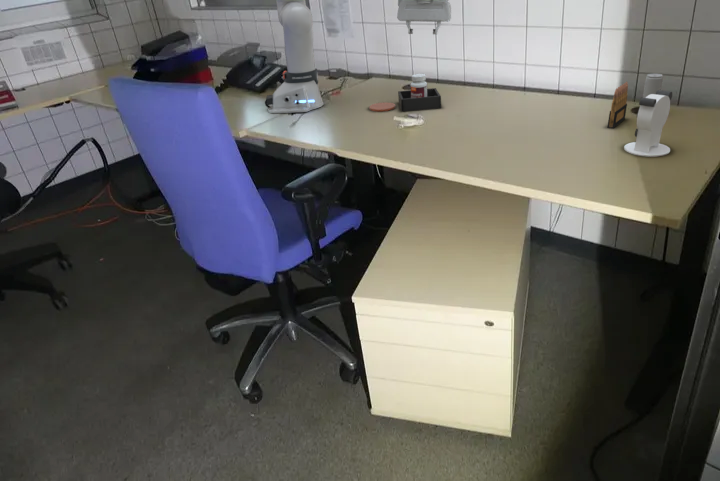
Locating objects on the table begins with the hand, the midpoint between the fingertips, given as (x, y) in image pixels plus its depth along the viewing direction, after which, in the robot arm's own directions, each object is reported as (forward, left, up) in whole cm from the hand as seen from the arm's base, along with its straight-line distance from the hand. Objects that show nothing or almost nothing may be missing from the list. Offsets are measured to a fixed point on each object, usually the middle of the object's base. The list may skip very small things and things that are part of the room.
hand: (422, 34), depth 208 cm
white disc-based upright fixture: (+52, -77, -24) cm, 96 cm away
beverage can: (+68, -45, -24) cm, 85 cm away
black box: (-3, -13, -24) cm, 27 cm away
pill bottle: (-3, -13, -24) cm, 27 cm away
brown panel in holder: (+54, -53, -24) cm, 79 cm away
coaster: (-17, -12, -24) cm, 32 cm away
